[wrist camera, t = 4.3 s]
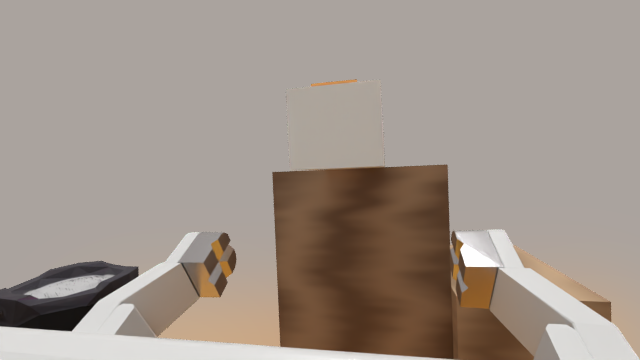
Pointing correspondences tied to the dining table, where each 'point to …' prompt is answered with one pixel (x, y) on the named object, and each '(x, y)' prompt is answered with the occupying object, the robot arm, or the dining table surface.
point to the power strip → (335, 126)
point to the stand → (384, 268)
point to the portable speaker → (61, 295)
